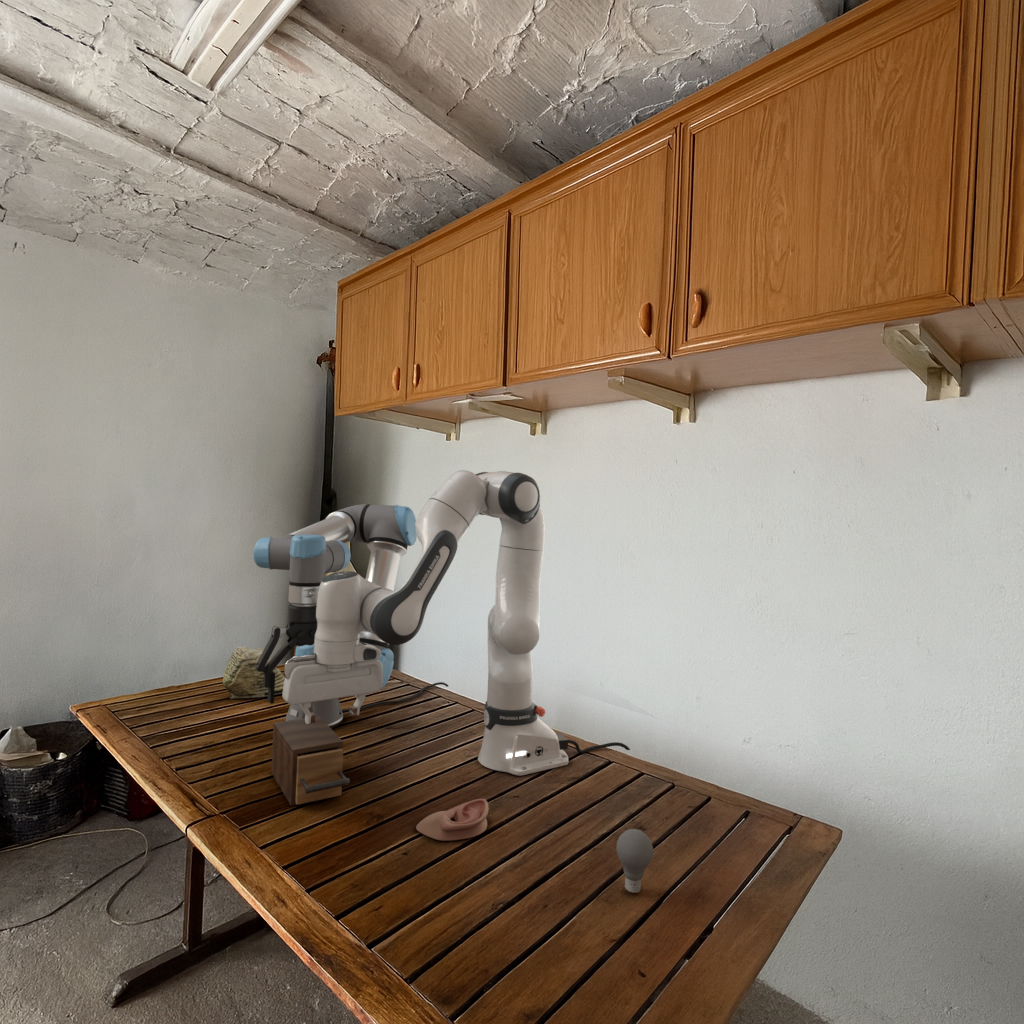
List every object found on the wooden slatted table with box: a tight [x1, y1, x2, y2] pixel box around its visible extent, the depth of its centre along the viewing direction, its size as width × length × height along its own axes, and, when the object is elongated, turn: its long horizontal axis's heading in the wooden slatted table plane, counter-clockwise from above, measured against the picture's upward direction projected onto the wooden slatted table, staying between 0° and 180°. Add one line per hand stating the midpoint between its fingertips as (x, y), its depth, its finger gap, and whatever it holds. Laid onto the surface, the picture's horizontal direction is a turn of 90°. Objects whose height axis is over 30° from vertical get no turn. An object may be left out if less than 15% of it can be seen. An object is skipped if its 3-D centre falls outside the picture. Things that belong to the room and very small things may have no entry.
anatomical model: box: [415, 798, 489, 842], centre depth 124 cm, size 13×4×12 cm
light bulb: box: [615, 828, 654, 894], centre depth 106 cm, size 6×6×10 cm
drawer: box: [296, 748, 351, 806], centre depth 135 cm, size 22×9×10 cm, turn 33°
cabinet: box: [271, 716, 344, 807], centre depth 139 cm, size 18×10×12 cm, turn 33°
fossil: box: [222, 646, 285, 699], centre depth 198 cm, size 9×18×15 cm, turn 132°
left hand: (302, 697), depth 142 cm, fingers open, 13 cm apart
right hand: (332, 719), depth 129 cm, fingers open, 8 cm apart
